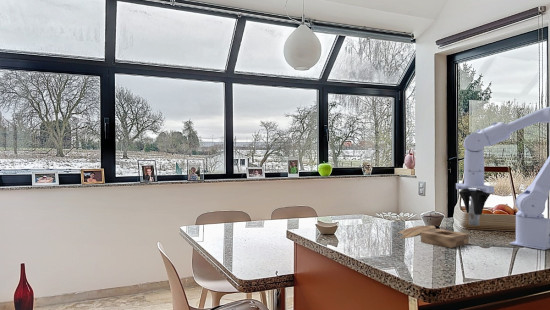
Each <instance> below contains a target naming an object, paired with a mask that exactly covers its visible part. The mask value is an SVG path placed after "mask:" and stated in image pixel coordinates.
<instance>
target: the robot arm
mask: <svg viewBox="0 0 550 310" xmlns="http://www.w3.org/2000/svg"><path fill="white" fill-rule="evenodd" d="M539 123H540V124H541V123H542V124H548V123H550V106H547V107H544V108H540V109H538V110H535V111H532V112H531V113H528V114H526V115H523V116H522V117H519V118H518V119H517V118H516V119H515V120H513V121H510V122H507V123H505V122H502V121H499V122H497V121H494V122H492V123H491V125H489V126H487V127H485V128H482V129H479V128H478V129H477V130H475V131H476V132H472V133H470V134H468V135H467V136H466V137H465V138H464V141H463V143H462V144H463V148H464V157H463V169H464V170H463V176H464V177H463V182H464V183H459V182H458V183H457V182H456V183H455V189H456V190H459V191H458V194H459V196H460V197H461V199H462V201H463V204H464V207H465V211H466V213H467V214H469V196H472V199H473V204H474V213H475V215H479V216H480V215H482V214H483V211H484V207H485V205H486V202H487V200H488V199H489V197H490V195H491V194H494V193H495V186H492V185H485V157H484V148H485V147H487V148H488V147H491V146H493V145H496V144H499V143H501V142H503V141H506V140H508V139H510V136H512V135H511V134H512V133H514V132H516V131H519V130H522V129H524V128H527V127H530V126H532V125H534V124H539ZM461 190H462V191H461ZM549 195H550V155H548V157H547V159H546V160H545V162H544V163H543V165H542V167H541V168H540V170H539V172H538V173H537V174H536V176H535V177H534V179H533V180H532V182H531V183H530V184H529V185H528V187H526V189H525V190H524V191H523V192H522V193H519V194H518V195H517V197H516V198H515V207H516V208H517V209H518V210H517V212H516V213H515V240H514V241H511V242H509V244H510V245H513V246H519V247H525V248H531V249H537V250H543V251H546V250H548V249H550V218H548V217H545V214H543V213H544V212H545V209H546V202H547V200H548V199H549Z"/></svg>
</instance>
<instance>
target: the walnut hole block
mask: <svg viewBox="0 0 550 310" xmlns="http://www.w3.org/2000/svg"><path fill="white" fill-rule="evenodd" d="M469 235H470V234H469V233H465V232H460V231H453V230H447V229H441V228H436V230H431V231H425V232H421V235H420V242H421V243H424V244H428V245H429V244H430V245H435V246H439V247H444V248H449V249H450V248H455V247H459V246H465V245H468V244H470V242H469V241H470V240H469V237H470V236H469Z"/></svg>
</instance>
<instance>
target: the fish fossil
mask: <svg viewBox="0 0 550 310" xmlns="http://www.w3.org/2000/svg"><path fill="white" fill-rule="evenodd" d="M436 229H437V227H436V226H435V225H417V226H412V227H408V228H405V229H403V230H400V231H398V232H397V234H402V235H403V236H399V239H409V238H414V237H418V236H421V232H425V231H431V230H436Z"/></svg>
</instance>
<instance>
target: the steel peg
mask: <svg viewBox="0 0 550 310" xmlns="http://www.w3.org/2000/svg"><path fill="white" fill-rule="evenodd" d="M468 225H469V226H480V215H475V213H474V204H473V199H472V196H469V213H468Z"/></svg>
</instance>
